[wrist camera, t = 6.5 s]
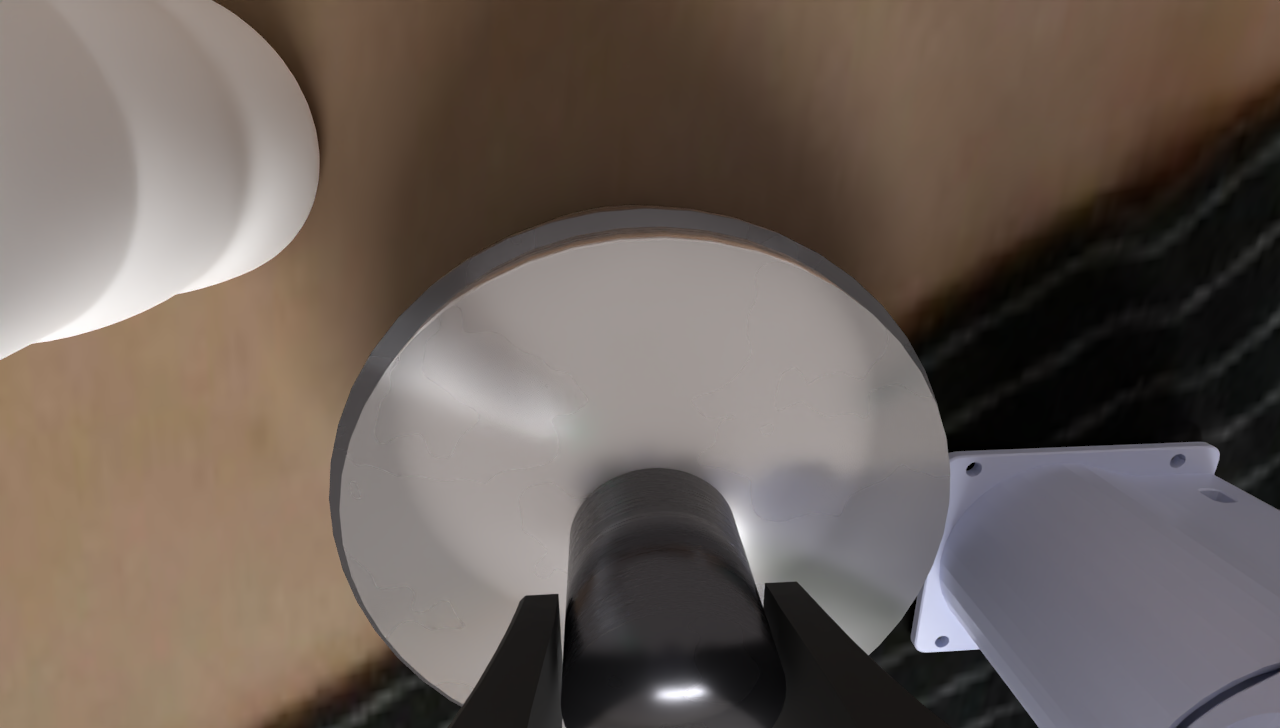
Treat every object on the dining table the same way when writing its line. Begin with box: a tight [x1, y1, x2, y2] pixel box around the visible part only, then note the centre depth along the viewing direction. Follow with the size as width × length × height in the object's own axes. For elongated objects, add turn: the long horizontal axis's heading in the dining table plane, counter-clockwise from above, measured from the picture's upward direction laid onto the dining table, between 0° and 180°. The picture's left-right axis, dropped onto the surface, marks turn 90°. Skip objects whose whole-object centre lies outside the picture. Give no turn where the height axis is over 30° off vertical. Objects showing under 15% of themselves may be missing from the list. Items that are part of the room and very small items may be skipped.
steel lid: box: [339, 226, 950, 728], centre depth 13 cm, size 13×13×5 cm
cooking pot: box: [329, 205, 939, 707], centre depth 18 cm, size 15×15×5 cm
